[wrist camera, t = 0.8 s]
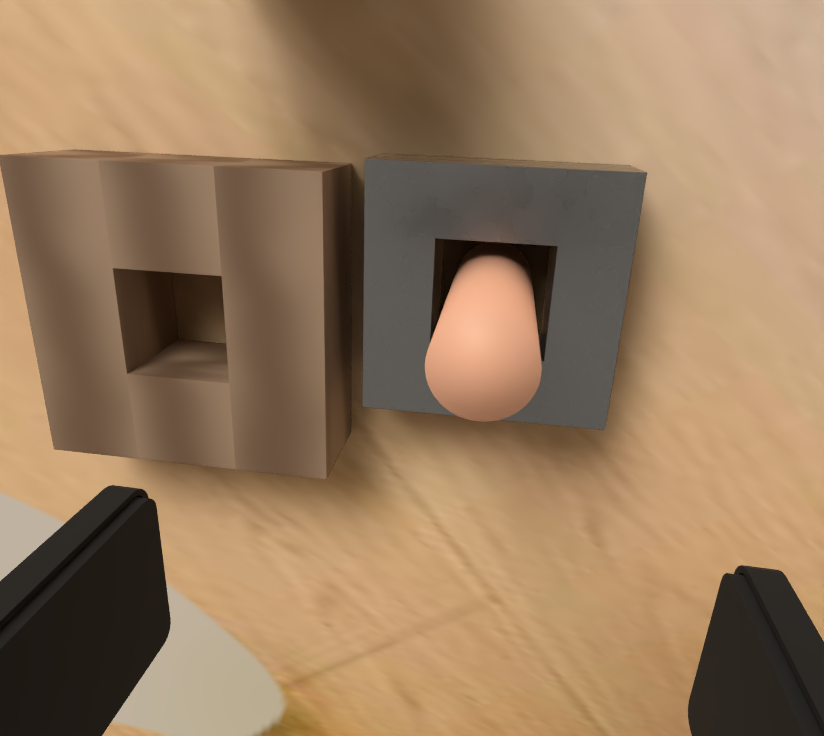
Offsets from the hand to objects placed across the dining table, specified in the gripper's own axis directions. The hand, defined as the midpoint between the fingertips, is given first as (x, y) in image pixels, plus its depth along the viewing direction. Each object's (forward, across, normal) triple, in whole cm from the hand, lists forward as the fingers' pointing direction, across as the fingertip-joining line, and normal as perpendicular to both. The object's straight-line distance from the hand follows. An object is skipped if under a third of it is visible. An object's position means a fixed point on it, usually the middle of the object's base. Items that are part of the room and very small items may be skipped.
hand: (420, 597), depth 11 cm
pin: (+22, 0, 0) cm, 22 cm away
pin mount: (+22, 0, 0) cm, 22 cm away
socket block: (+22, +14, +2) cm, 26 cm away
